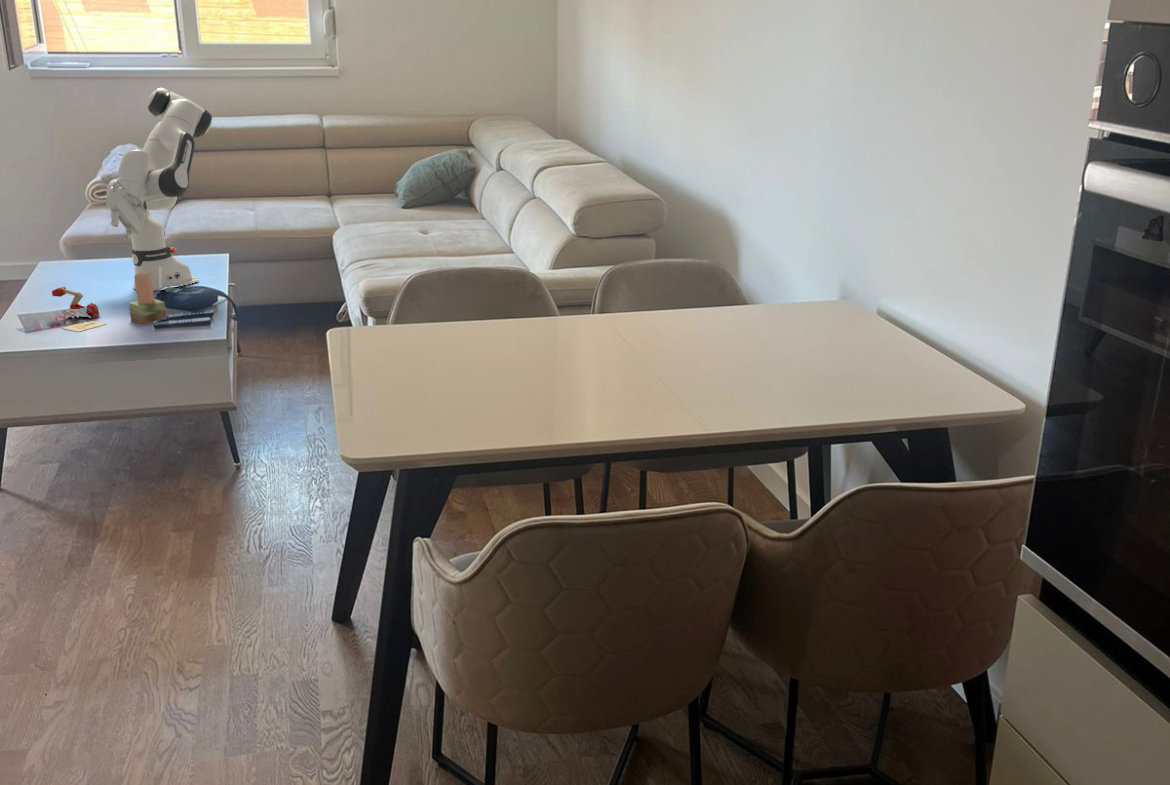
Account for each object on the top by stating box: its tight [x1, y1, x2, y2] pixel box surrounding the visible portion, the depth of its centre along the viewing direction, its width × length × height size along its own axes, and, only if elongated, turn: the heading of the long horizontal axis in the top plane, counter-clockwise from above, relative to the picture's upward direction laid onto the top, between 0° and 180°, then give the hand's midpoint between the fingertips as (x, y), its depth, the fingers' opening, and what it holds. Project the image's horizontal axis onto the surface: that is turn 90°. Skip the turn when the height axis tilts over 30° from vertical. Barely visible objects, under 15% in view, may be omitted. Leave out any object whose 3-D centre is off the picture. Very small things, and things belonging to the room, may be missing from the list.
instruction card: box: [62, 320, 107, 333], centre depth 338 cm, size 10×8×1 cm
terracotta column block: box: [133, 273, 155, 304], centre depth 341 cm, size 4×4×9 cm
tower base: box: [128, 298, 168, 326], centre depth 344 cm, size 8×8×6 cm
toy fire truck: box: [51, 286, 100, 319], centre depth 347 cm, size 3×14×10 cm, turn 84°
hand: (120, 232), depth 342 cm, fingers open, 8 cm apart
